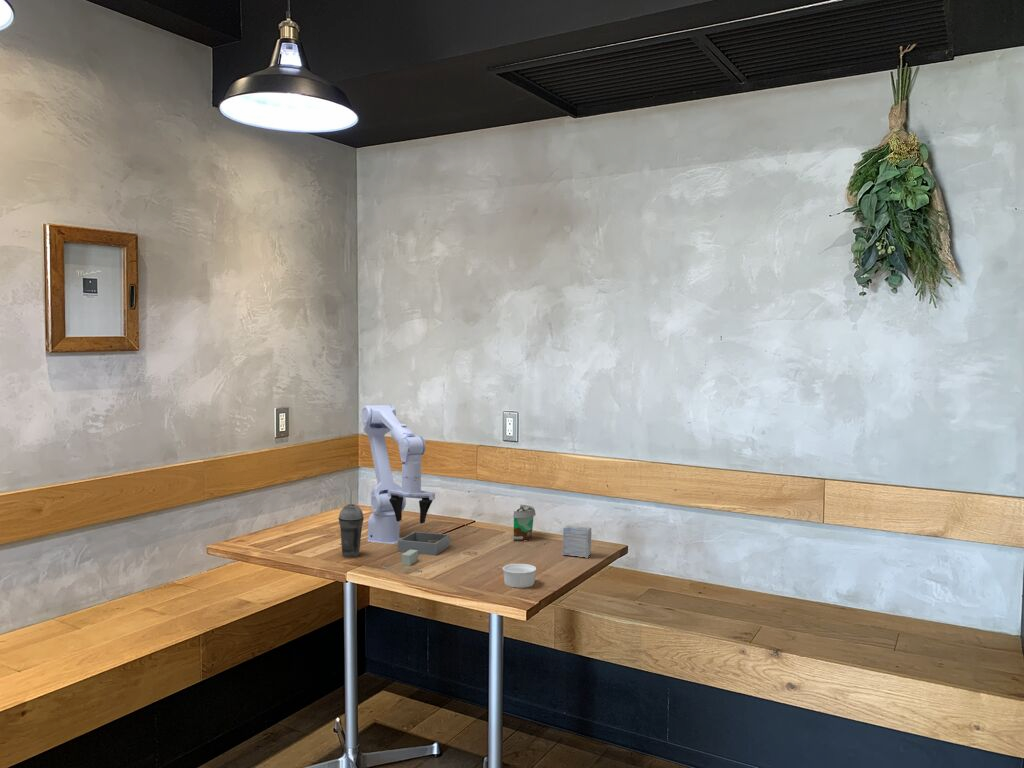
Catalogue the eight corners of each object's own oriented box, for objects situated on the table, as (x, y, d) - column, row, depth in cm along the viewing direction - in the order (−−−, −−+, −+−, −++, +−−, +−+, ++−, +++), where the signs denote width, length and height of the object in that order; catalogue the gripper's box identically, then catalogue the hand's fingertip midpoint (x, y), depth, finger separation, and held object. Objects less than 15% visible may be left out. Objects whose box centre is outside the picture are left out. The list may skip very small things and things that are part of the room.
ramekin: (497, 586, 200) (497, 570, 200) (509, 577, 209) (510, 561, 208) (529, 590, 197) (529, 574, 197) (540, 581, 205) (540, 565, 205)
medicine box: (591, 555, 233) (592, 527, 233) (587, 559, 229) (588, 530, 228) (566, 552, 236) (566, 524, 235) (562, 556, 231) (562, 527, 231)
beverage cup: (341, 562, 219) (342, 492, 218) (335, 555, 226) (335, 488, 225) (366, 559, 222) (367, 490, 222) (359, 553, 229) (360, 486, 228)
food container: (531, 543, 245) (532, 512, 245) (512, 542, 247) (513, 511, 246) (537, 535, 257) (538, 505, 257) (519, 533, 259) (520, 504, 258)
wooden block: (427, 548, 234) (428, 542, 234) (428, 546, 237) (428, 539, 236) (437, 548, 234) (437, 542, 234) (438, 546, 237) (438, 539, 237)
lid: (381, 569, 214) (381, 555, 214) (398, 559, 225) (399, 545, 225) (421, 574, 211) (421, 559, 211) (437, 563, 222) (437, 549, 222)
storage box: (398, 553, 230) (398, 540, 230) (414, 544, 241) (414, 531, 241) (435, 557, 226) (435, 543, 226) (449, 547, 238) (450, 534, 238)
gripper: (383, 477, 228) (382, 522, 229) (429, 480, 224) (428, 526, 225) (393, 473, 235) (392, 517, 235) (437, 476, 231) (436, 521, 231)
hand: (410, 521), depth 230 cm, fingers open, 7 cm apart
